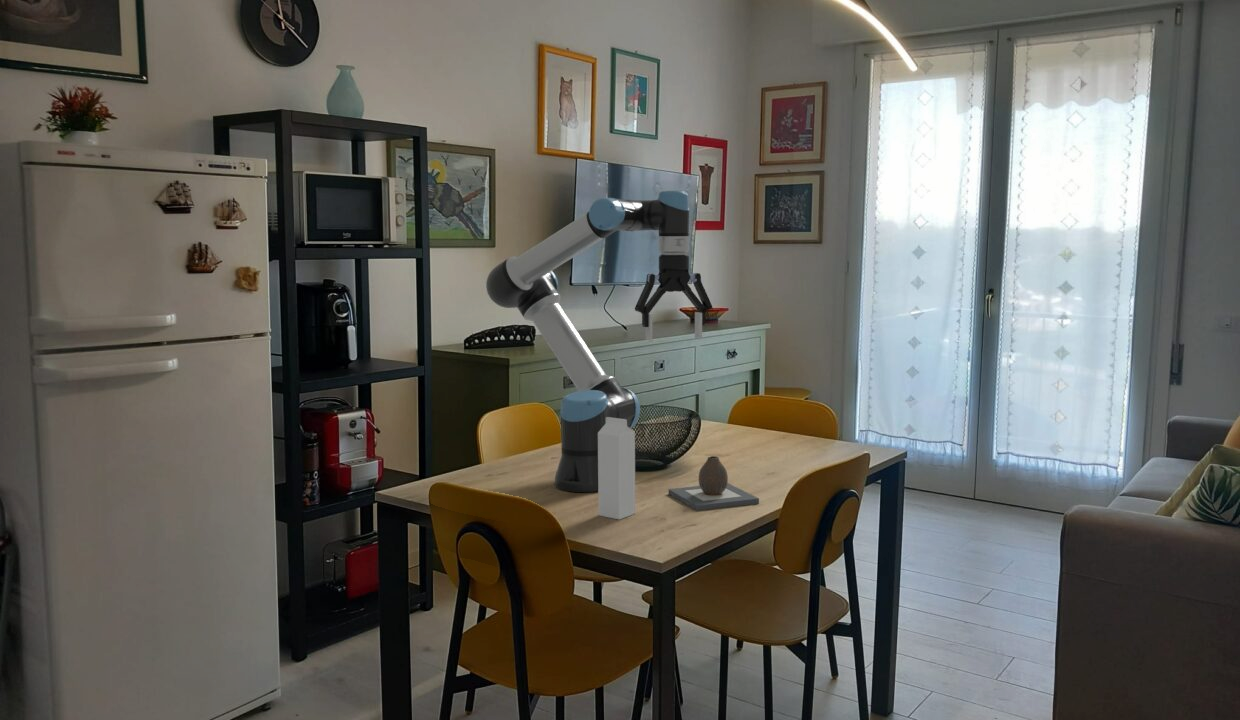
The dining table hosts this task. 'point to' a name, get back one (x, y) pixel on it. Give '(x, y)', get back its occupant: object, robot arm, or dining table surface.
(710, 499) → the rest mat
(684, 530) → the dining table surface
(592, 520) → the dining table surface
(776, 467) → the dining table surface
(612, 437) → the milk
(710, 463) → the vase
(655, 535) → the dining table surface
